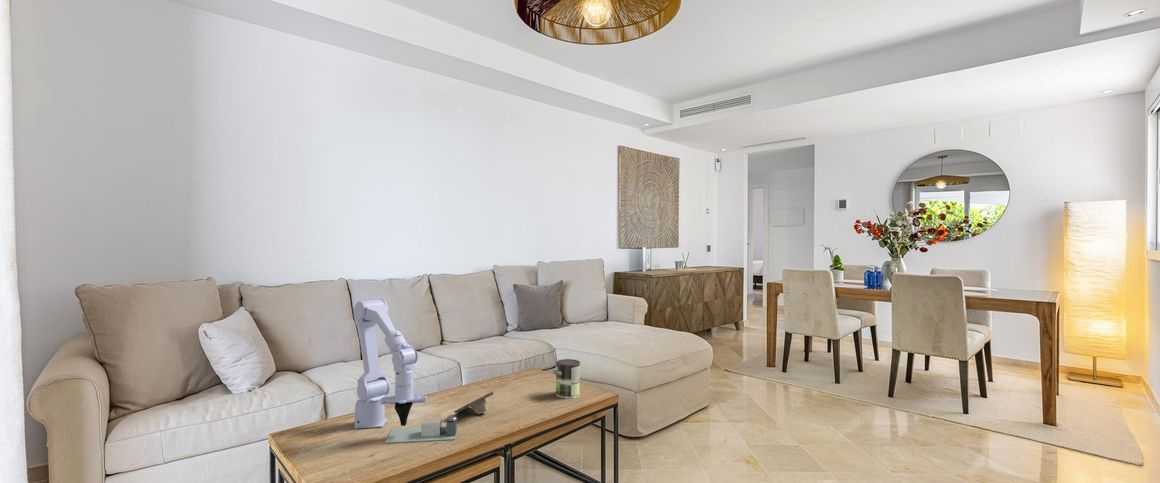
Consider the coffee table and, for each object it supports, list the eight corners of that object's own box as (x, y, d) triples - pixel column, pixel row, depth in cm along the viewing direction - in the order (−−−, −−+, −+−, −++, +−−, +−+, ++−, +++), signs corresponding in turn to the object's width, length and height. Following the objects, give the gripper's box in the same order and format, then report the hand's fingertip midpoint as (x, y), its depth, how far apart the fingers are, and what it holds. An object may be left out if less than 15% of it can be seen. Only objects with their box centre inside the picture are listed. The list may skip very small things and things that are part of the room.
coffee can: (559, 399, 200) (559, 365, 200) (553, 392, 210) (553, 359, 210) (582, 397, 203) (583, 364, 203) (575, 390, 213) (576, 358, 213)
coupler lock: (421, 437, 159) (421, 423, 159) (423, 431, 164) (423, 418, 164) (439, 436, 160) (439, 423, 160) (441, 430, 165) (441, 417, 165)
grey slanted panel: (460, 434, 173) (492, 406, 174) (446, 414, 175) (478, 387, 175) (475, 424, 190) (504, 399, 190) (462, 406, 191) (491, 381, 192)
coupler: (425, 437, 160) (426, 421, 160) (428, 431, 165) (428, 416, 165) (455, 435, 161) (455, 420, 161) (457, 430, 166) (457, 414, 166)
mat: (384, 443, 155) (384, 442, 155) (393, 429, 167) (393, 428, 167) (454, 440, 159) (454, 438, 159) (458, 426, 170) (458, 425, 170)
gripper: (378, 388, 156) (377, 430, 156) (424, 387, 158) (424, 428, 158) (383, 382, 163) (383, 422, 163) (428, 380, 165) (427, 420, 165)
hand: (403, 424), depth 161 cm, fingers closed
